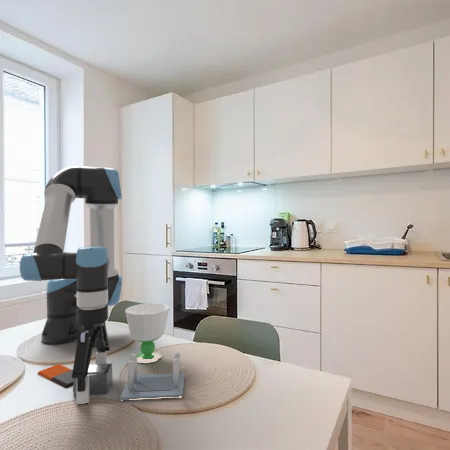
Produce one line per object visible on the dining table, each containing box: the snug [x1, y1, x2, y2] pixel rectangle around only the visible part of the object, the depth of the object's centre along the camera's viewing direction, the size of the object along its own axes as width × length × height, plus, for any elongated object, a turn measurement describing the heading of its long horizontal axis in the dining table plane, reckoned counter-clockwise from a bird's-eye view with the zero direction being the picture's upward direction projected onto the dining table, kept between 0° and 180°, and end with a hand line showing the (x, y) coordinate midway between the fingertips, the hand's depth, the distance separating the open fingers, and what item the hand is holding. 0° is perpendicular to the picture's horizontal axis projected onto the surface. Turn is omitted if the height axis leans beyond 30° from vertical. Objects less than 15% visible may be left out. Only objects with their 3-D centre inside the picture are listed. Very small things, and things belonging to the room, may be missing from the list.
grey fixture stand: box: [119, 351, 186, 402], centre depth 81 cm, size 11×15×8 cm
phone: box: [37, 363, 73, 389], centre depth 88 cm, size 6×1×15 cm
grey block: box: [72, 362, 113, 397], centre depth 81 cm, size 6×8×6 cm
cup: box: [124, 302, 170, 359], centre depth 100 cm, size 14×14×16 cm
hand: (92, 388), depth 81 cm, fingers open, 13 cm apart
